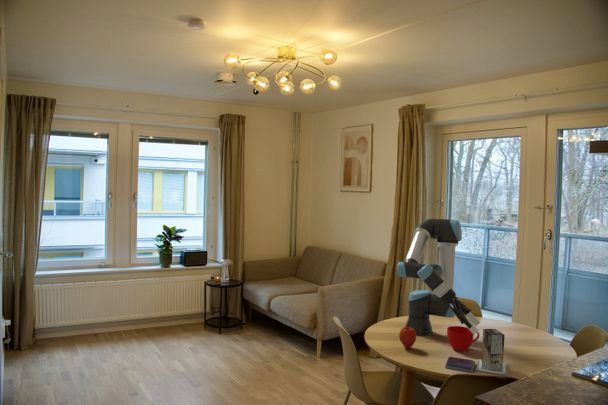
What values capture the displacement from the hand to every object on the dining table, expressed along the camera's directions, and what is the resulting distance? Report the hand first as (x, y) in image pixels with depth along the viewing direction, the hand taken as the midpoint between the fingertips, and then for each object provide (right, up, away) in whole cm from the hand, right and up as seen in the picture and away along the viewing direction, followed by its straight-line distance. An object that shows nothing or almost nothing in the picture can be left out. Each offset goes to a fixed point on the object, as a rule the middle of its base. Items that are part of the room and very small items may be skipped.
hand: (477, 328), depth 220 cm
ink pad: (-8, -17, -1) cm, 19 cm away
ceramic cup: (+1, -17, +22) cm, 28 cm away
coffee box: (+6, -17, -3) cm, 18 cm away
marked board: (+6, -17, -3) cm, 19 cm away
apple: (-28, -16, +22) cm, 39 cm away
